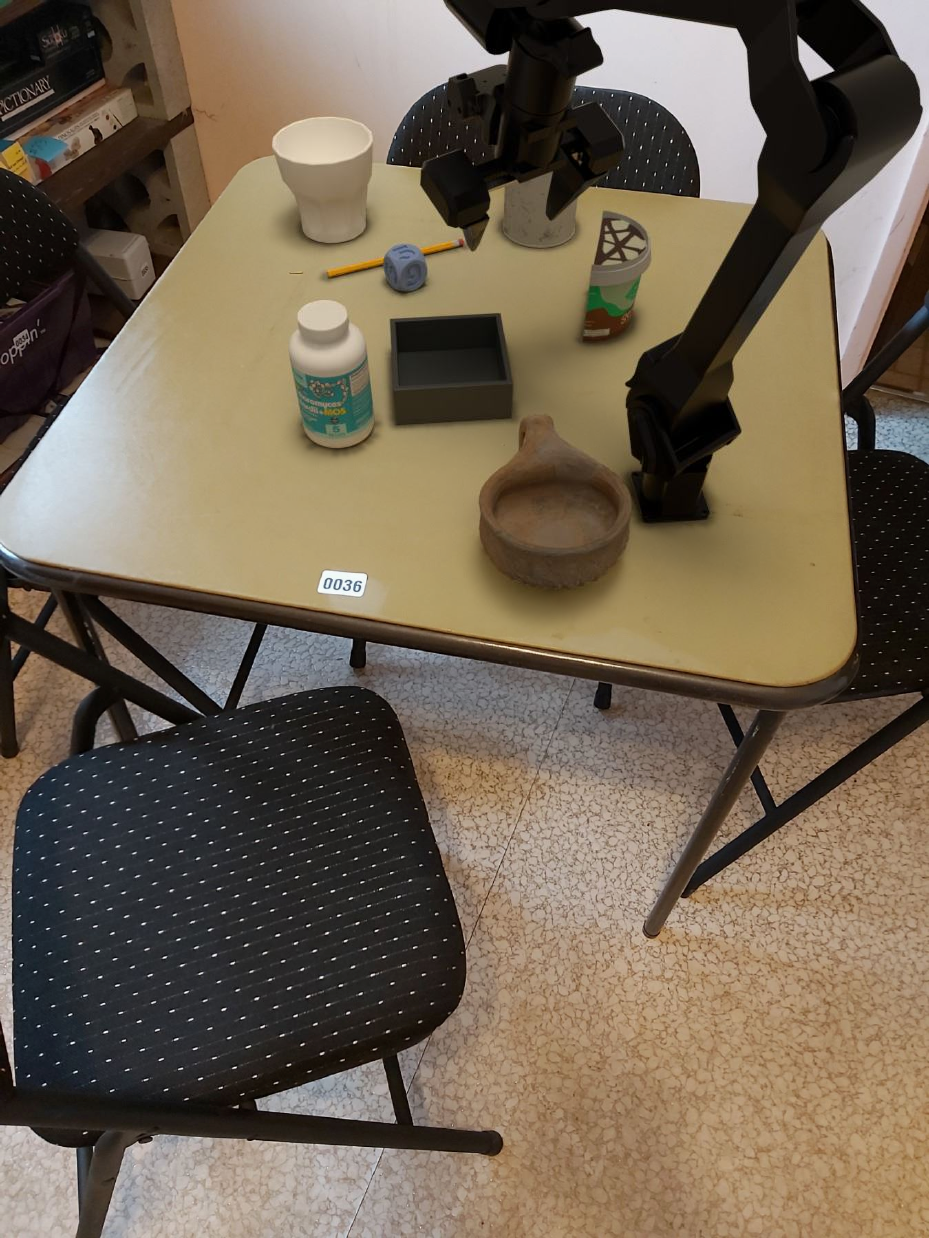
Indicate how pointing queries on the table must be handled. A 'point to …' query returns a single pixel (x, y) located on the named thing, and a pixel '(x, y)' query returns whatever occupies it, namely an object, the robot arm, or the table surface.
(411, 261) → the decorative dice
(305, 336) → the pill bottle
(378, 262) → the pencil
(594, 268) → the food container
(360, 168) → the cup
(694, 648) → the table surface
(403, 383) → the dark gray square tray
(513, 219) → the marbled stone cylinder
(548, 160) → the robot arm
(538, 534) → the bowl
